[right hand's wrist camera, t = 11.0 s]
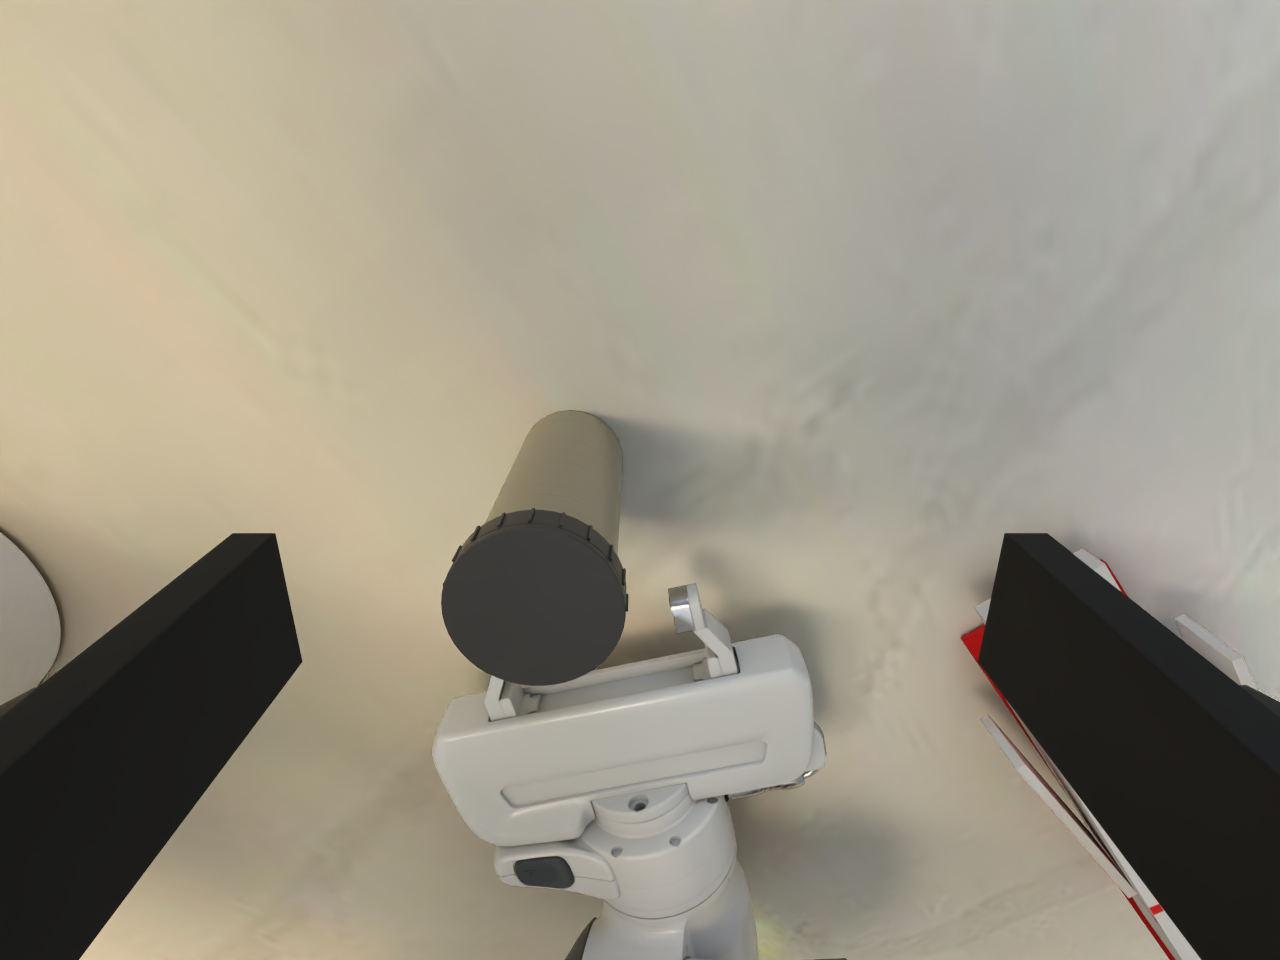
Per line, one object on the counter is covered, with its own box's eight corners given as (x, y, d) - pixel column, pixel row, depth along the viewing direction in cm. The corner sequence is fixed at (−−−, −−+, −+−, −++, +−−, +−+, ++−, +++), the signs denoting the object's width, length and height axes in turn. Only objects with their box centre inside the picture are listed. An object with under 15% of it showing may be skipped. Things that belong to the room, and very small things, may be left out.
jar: (630, 496, 39) (627, 657, 25) (534, 512, 40) (478, 679, 26) (612, 402, 37) (597, 521, 23) (511, 419, 37) (436, 546, 24)
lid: (642, 648, 26) (642, 674, 25) (476, 673, 27) (467, 699, 25) (610, 494, 24) (608, 512, 23) (428, 523, 24) (416, 543, 23)
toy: (1225, 571, 30) (1476, 1031, 35) (1067, 486, 43) (1268, 833, 48) (967, 701, 33) (1237, 1112, 38) (892, 585, 46) (1100, 903, 51)
